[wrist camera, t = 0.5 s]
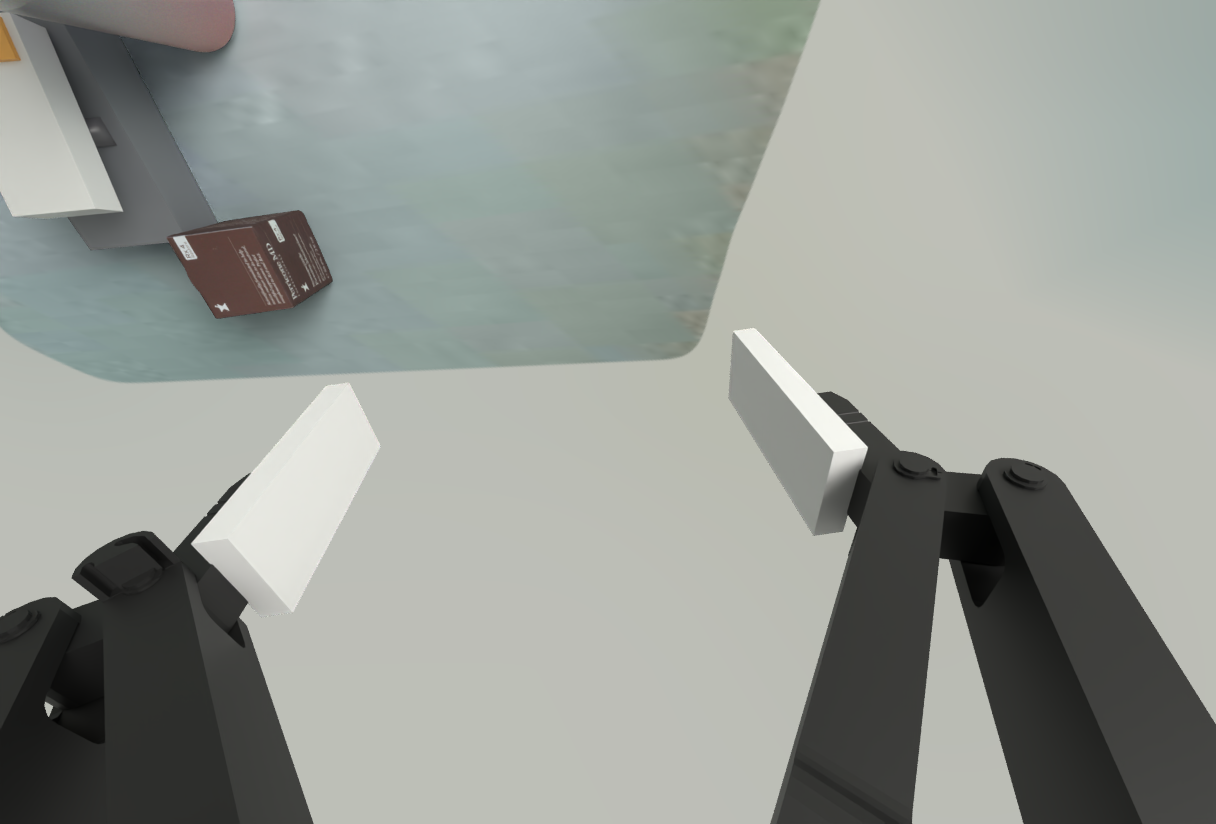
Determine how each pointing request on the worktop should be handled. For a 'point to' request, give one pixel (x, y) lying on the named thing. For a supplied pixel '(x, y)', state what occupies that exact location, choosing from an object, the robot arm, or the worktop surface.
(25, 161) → the rocker
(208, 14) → the beverage can
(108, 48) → the switch panel
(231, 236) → the box
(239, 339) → the worktop surface
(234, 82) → the worktop surface
